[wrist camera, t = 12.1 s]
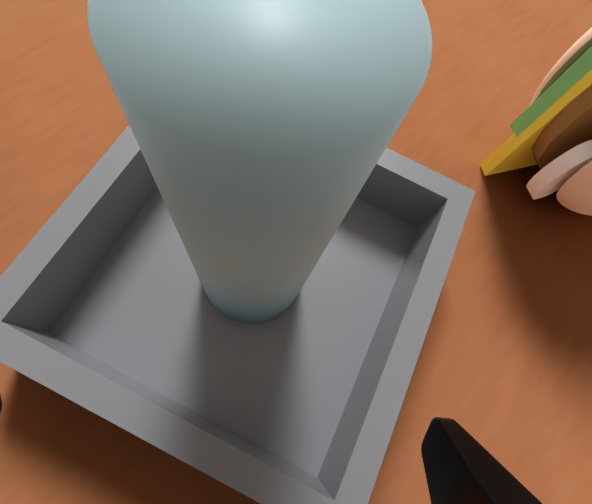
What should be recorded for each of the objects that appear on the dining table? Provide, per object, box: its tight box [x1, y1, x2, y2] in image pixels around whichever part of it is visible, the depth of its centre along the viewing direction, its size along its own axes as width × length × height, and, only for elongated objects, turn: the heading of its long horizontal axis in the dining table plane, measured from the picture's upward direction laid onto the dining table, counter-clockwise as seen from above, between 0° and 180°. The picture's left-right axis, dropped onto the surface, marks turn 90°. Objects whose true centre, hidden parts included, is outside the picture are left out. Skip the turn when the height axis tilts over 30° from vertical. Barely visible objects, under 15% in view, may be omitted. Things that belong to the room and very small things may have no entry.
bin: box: [0, 125, 476, 504], centre depth 16 cm, size 14×14×4 cm
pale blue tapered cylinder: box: [87, 0, 432, 324], centre depth 11 cm, size 4×4×12 cm
